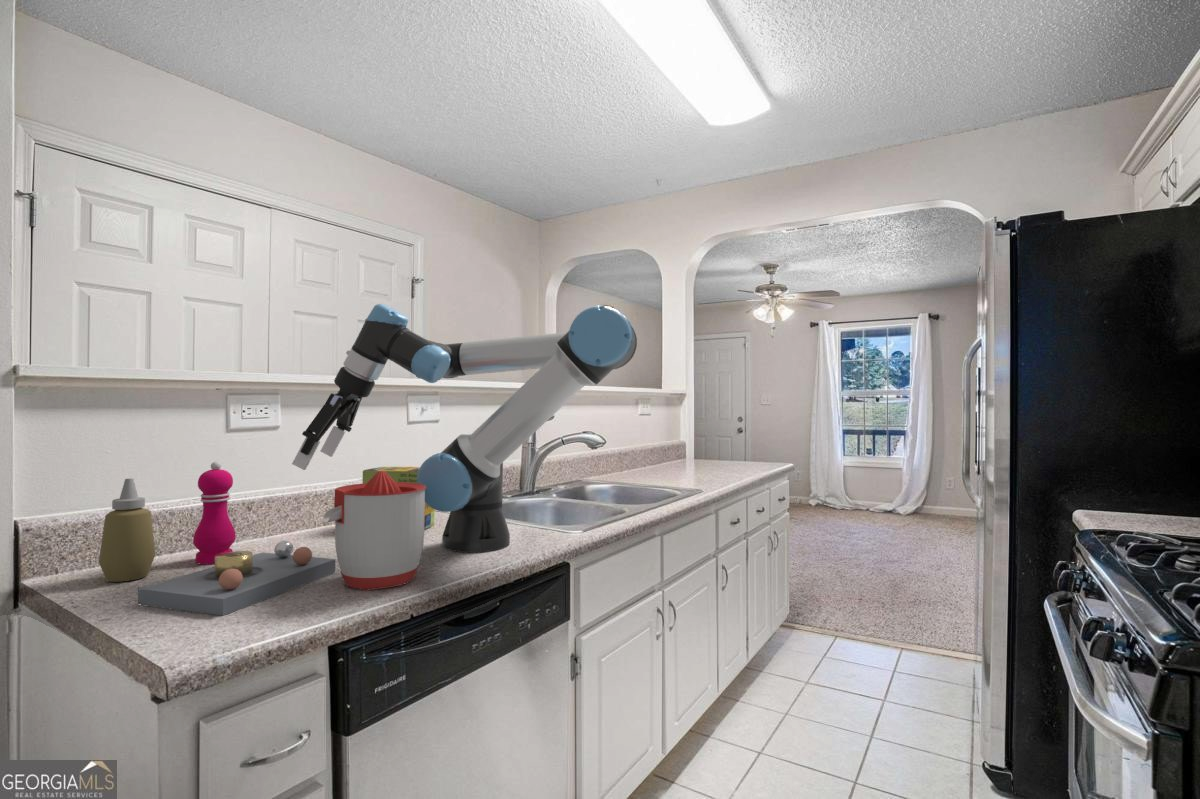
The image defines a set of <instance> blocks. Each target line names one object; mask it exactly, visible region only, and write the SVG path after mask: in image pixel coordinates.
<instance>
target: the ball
mask: <svg viewBox="0 0 1200 799" xmlns="http://www.w3.org/2000/svg"><path fill="white" fill-rule="evenodd" d="M273 552H274V553H275V554H276V555H277V556H278V557H280V558H286V557H288V556H290V555H293V553H294V545H293V544H292V542H290V541H288V540H281V541H279V542H277V543H276V544H275V546H274V551H273Z"/></svg>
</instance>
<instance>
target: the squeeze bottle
mask: <svg viewBox="0 0 1200 799" xmlns="http://www.w3.org/2000/svg"><path fill="white" fill-rule="evenodd" d="M134 480H135V479H134V478H132V477H131V478H125V479H124V481H123V486H122V488H121V492H120V496H119V498H115V499H112V502H111V509H112V510H111V511H110V512H108V513H106V515H105V516H104V522H103V523H104V524H103V530H102V537H101V544H100V550H99V558H98V564H99V567H100V568H101V570H102V574H103V576H104V577H105V581H107V582H110V583H123V581H124V582H131V581H135V580H138V579H142V578H145V577H147V576H148V574H149V572H150V570H151V567H152V565H153V562H154V559H155V557H156V547H155V536H154V526H153V518H152V511H151V510H149V509H148V508H144V507H145V506H146V498H145V497H140V496H138V492H137V491H138V490H137V486H136V484H135V481H134ZM130 580H131V581H130Z"/></svg>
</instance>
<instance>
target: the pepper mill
mask: <svg viewBox="0 0 1200 799" xmlns="http://www.w3.org/2000/svg"><path fill="white" fill-rule="evenodd" d="M221 467H222V464H221V462H219V461H214V462H212V463H211V464H210V469H208V470H206V471H203V473H201V474H200V475H199V477H198V480H197V487H198V489H199V491H201V492H202V494H200V498H201V499H200V502H202V506H203V508H202V515H201V519H200V521H199V524H198V526H197V528H196V530H195V531H194V534H193V540H192V542H193V543H192V544H193V546H194V547H195V548H196V549H197V550H198V552H196V553H195V564H198V563H200V564H199V565H213V564H212V563H215V556H216V555H219V554H222V553H227V552H233V549H232V548H231V547H232V546H233V544H234V543H235V542H236V539H237V535H236V530H235V527H234V525H233V523H232V521H231V520H230V516H229V513H228V502H229V500H230V499H231V497H230V495H231V492H229V491H230V489H231V488H232V487H233V485H234V479H233V475H232V474H231V472H229V471H227V470H225V469H221Z"/></svg>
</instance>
